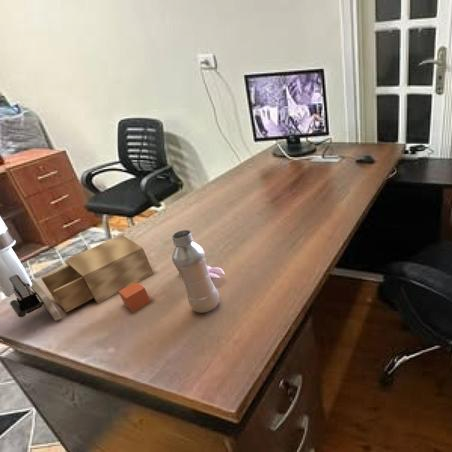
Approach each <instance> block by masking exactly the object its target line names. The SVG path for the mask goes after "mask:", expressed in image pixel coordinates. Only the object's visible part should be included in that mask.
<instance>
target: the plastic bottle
mask: <svg viewBox="0 0 452 452" xmlns="http://www.w3.org/2000/svg"><path fill="white" fill-rule="evenodd" d="M171 238H172V241H173V246H175V248H174V250H173V252H172V254H171V259H172V263H173V265H174V267H175V269H176V270H177V271H178V274H179V273H180V275H179V276H181V279H182V281H183V283H184V286H185V290H186V294H187V300H188V304H189V306H190V308H191V309H192V310H193V311H194V312H196V313H199V314H203V313H208V312H210V311H212V310H214V309H215V308H216V307H217V306H218V304H219V303H220V293H219V291H218V289H217V288H216V286H215V284H214V282H213V280H212V278H210V276H209V272H208V269H207V266H208V265H207V259H206V252H205V249H204V248H203V247H202V246H201V245H199V244H198V243H196V242H195V241H194V236H193V235H192V232H191V230H189V229H182V230H179V231H176V232H175V233H173V234H172V236H171Z"/></svg>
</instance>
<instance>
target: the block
mask: <svg viewBox="0 0 452 452" xmlns="http://www.w3.org/2000/svg"><path fill="white" fill-rule="evenodd" d="M118 294H119V296H120V299H121V301H122V302H123V304H124V306H125V307H126V308H127V309H129V310H130V311H131V312H132V313H134V312H136V311H138V310H139V309H141V308H143V307H145V306H146V305H147V304H149V303H151V299H150V296H149V295H148V291H147V290H146V288H145V287H144V286H143V285H141V283H138V282H135V283H133V284H131V285H129V286H127V287H126V288H124V289H122V290H120V291H118Z"/></svg>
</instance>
